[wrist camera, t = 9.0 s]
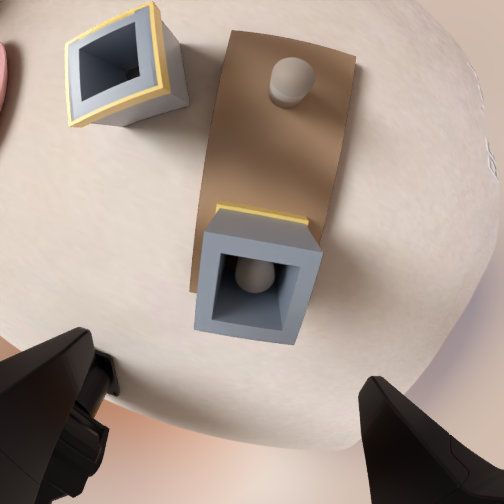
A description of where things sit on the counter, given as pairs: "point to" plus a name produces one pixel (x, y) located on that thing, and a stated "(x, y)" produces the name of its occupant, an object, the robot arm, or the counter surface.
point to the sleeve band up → (124, 70)
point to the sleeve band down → (261, 248)
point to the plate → (3, 74)
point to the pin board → (274, 138)
